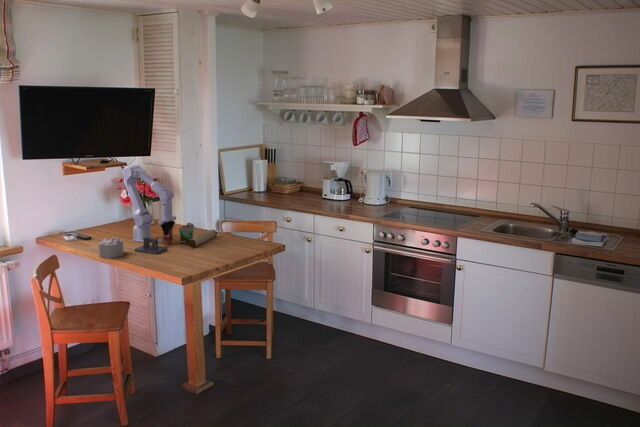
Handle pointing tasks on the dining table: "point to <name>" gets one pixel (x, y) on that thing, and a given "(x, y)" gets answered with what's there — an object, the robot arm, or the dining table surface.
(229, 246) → the dining table surface
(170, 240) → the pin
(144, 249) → the eye bracket
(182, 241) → the food container
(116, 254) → the lumpy-topped squat cylinder
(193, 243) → the rolling pin
